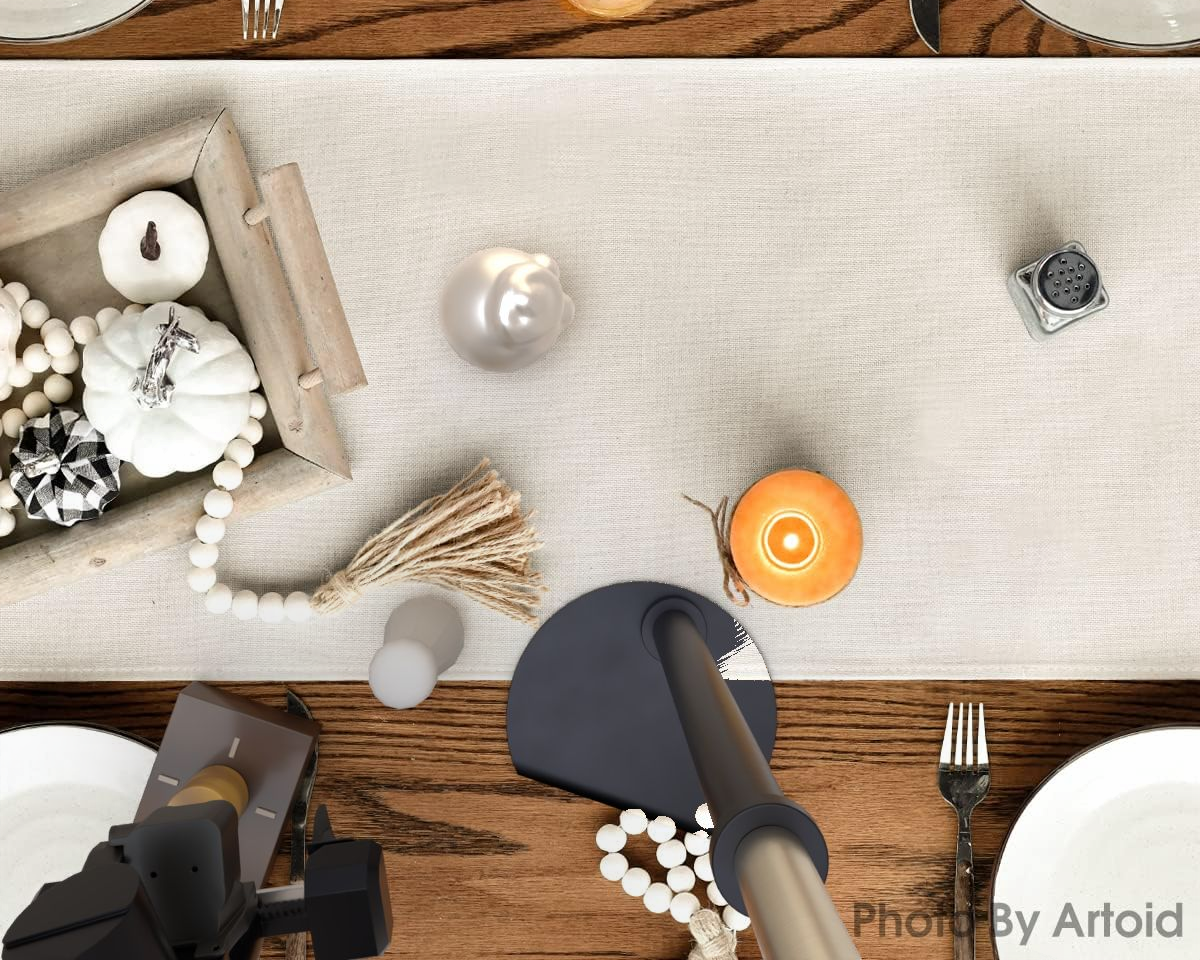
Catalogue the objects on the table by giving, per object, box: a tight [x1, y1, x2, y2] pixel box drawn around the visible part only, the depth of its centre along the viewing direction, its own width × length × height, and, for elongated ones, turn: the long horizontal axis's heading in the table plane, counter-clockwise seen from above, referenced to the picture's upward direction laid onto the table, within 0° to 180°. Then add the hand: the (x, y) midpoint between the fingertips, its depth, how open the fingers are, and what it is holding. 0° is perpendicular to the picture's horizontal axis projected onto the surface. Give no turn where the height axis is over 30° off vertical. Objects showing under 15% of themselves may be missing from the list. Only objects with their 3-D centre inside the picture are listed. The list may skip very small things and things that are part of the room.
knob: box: [167, 765, 248, 820], centre depth 71 cm, size 4×4×4 cm
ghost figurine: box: [437, 246, 576, 374], centre depth 73 cm, size 9×10×10 cm
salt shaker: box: [368, 595, 465, 710], centre depth 71 cm, size 6×6×13 cm
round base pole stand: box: [505, 580, 863, 960], centre depth 52 cm, size 20×20×50 cm
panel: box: [132, 680, 324, 890], centre depth 75 cm, size 12×10×3 cm
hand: (248, 819), depth 65 cm, fingers open, 9 cm apart
